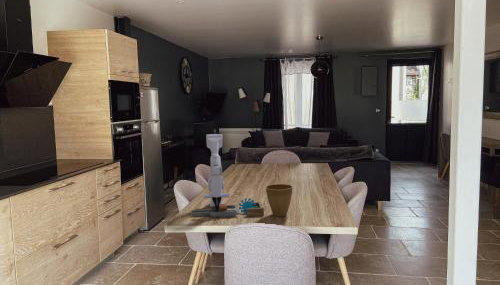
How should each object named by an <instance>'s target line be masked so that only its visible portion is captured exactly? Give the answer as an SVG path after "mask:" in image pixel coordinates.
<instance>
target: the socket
mask: <svg viewBox="0 0 500 285" xmlns="http://www.w3.org/2000/svg"><path fill="white" fill-rule="evenodd" d="M233 208H236V204H227V209H233ZM212 211H213V212H212ZM190 216H191V217H192V216H197V217H210V218H211V219H219V218H236V217H237V214H236V211H220V205H219V208H218V211H216V207H215V206H211V207H210V208H209V209H194V210H193V209H192V210H191V214H190ZM192 218H193V217H192Z"/></svg>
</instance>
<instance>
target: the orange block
mask: <svg viewBox="0 0 500 285" xmlns="http://www.w3.org/2000/svg"><path fill="white" fill-rule="evenodd" d="M227 205H228V204H227V203H226V202H225V203H223V204H220V211H236V215H238V214H240V209H239V207H238V208H236V207H235V208H233V209H227Z"/></svg>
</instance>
